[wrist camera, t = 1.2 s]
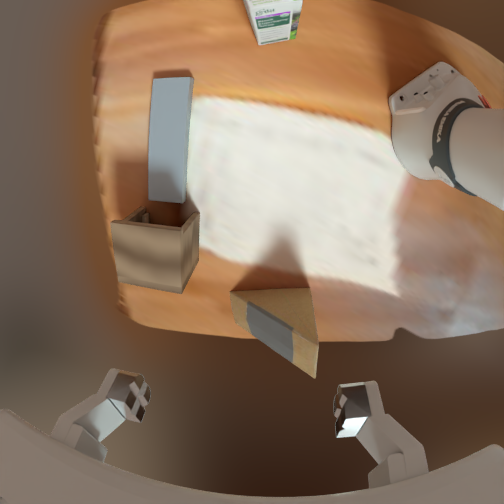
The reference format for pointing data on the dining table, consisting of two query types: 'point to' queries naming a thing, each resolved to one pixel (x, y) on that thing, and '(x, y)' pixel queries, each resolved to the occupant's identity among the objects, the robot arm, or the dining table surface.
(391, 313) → the dining table surface
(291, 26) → the syrup box
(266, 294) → the sandwich container
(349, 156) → the dining table surface
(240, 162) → the dining table surface
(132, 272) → the open wooden box
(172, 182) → the panel
